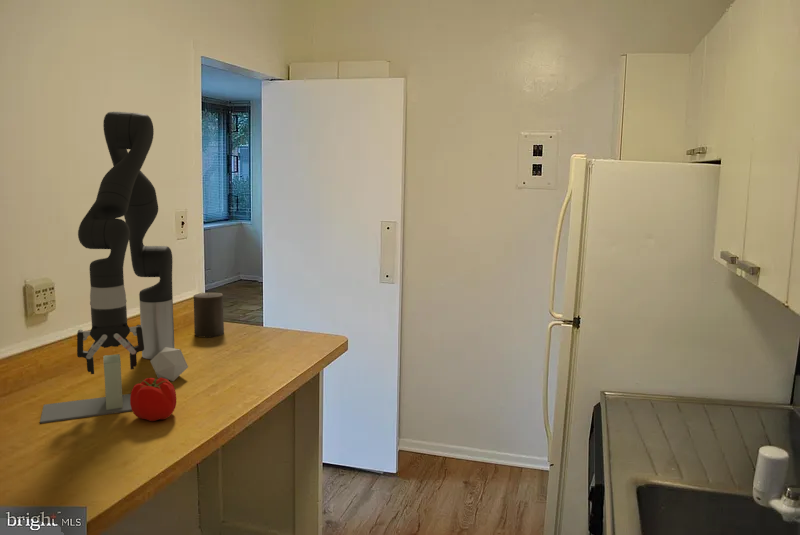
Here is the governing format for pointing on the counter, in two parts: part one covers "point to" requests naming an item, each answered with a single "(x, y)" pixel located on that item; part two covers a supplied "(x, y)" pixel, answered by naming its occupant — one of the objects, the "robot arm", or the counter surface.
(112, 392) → the slab
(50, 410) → the mat
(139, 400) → the tomato
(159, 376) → the die
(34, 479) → the counter surface
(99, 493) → the counter surface
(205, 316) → the pillar candle
